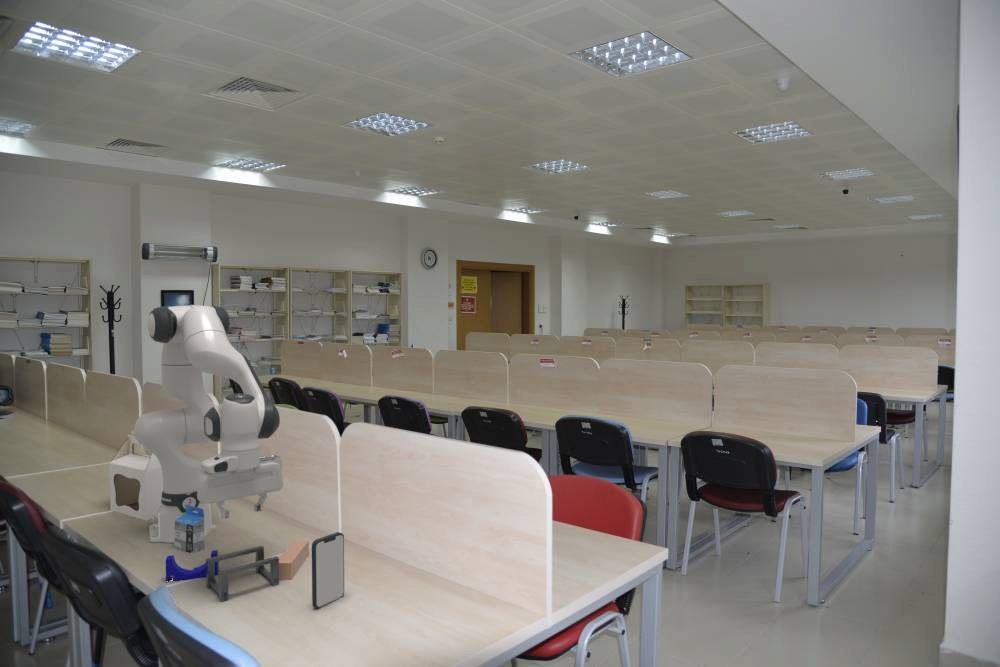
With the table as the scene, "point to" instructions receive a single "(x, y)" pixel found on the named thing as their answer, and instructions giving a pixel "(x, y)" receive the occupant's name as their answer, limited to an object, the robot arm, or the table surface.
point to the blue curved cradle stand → (184, 574)
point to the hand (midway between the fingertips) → (242, 514)
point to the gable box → (135, 480)
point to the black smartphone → (327, 569)
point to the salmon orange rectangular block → (293, 559)
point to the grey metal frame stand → (240, 569)
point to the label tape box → (190, 530)
